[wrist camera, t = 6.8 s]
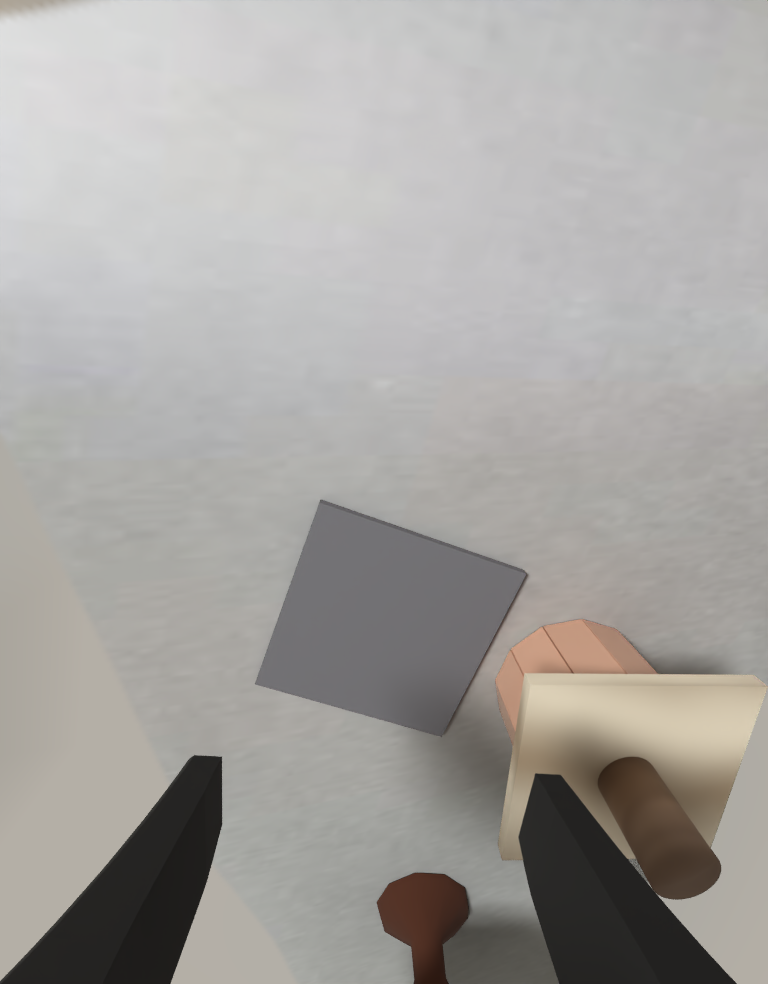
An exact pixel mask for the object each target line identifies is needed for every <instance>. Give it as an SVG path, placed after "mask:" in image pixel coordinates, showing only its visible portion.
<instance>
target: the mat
mask: <svg viewBox="0 0 768 984" xmlns="http://www.w3.org/2000/svg"><path fill="white" fill-rule="evenodd" d="M525 576H526V573H525V571H524V570H522V569H519V568H517V567H514V566H511V565H508V564H505V563H502V562H499V561H496V560H493V559H491V558H488V557H485V556H482V555H479V554H476V553H473V552H470V551H468V550H465V549H462V548H459V547H456V546H453V545H450V544H447V543H444V542H442V541H439V540H436V539H433V538H430V537H427V536H424V535H421V534H418V533H416V532H413V531H410V530H407V529H404V528H401V527H398V526H395V525H393V524H390V523H387V522H384V521H381V520H378V519H375V518H372V517H369V516H367V515H364V514H361V513H358V512H355V511H352V510H349V509H346V508H344V507H341V506H338V505H335V504H332V503H329V502H326V501H323V500H320V503H319V506H318V508H317V511H316V514H315V517H314V520H313V522H312V525H311V528H310V531H309V534H308V536H307V539H306V542H305V545H304V548H303V551H302V553H301V556H300V559H299V562H298V565H297V567H296V570H295V573H294V576H293V579H292V581H291V584H290V587H289V590H288V593H287V595H286V598H285V601H284V604H283V607H282V609H281V612H280V615H279V618H278V621H277V624H276V626H275V629H274V632H273V635H272V638H271V640H270V643H269V646H268V649H267V652H266V654H265V657H264V660H263V663H262V666H261V668H260V671H259V674H258V677H257V680H256V682H255V684H256V685H260V686H263V687H267V688H270V689H274V690H278V691H281V692H285V693H288V694H292V695H295V696H299V697H302V698H306V699H310V700H313V701H317V702H320V703H324V704H327V705H331V706H334V707H338V708H341V709H345V710H349V711H352V712H356V713H359V714H363V715H366V716H370V717H373V718H377V719H381V720H384V721H388V722H391V723H395V724H398V725H402V726H405V727H409V728H413V729H416V730H420V731H423V732H427V733H430V734H434V735H437V736H441V737H442V735H443V733H444V731H445V729H446V727H447V725H448V723H449V721H450V720H451V718H452V716H453V714H454V712H455V710H456V708H457V706H458V704H459V702H460V700H461V699H462V697H463V695H464V693H465V691H466V689H467V687H468V685H469V683H470V681H471V679H472V677H473V676H474V674H475V672H476V670H477V668H478V666H479V664H480V662H481V660H482V658H483V656H484V654H485V653H486V651H487V649H488V647H489V645H490V643H491V641H492V639H493V637H494V635H495V633H496V631H497V630H498V628H499V626H500V624H501V622H502V620H503V618H504V616H505V614H506V612H507V610H508V609H509V607H510V605H511V603H512V601H513V599H514V597H515V595H516V593H517V591H518V589H519V587H520V586H521V584H522V582H523V580H524V578H525Z"/></svg>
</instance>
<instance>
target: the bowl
mask: <svg viewBox="0 0 768 984" xmlns="http://www.w3.org/2000/svg"><path fill="white" fill-rule="evenodd" d="M511 649H512V650H510V651H509V653H508V655H507V657H506V659H505V661H504V663H503V665H502V667H501V669H500V671H499V673H498V675H497V677H496V679H495V680H496V681H495V683H496V689H497V696H498V703H499V710H500V713H501V715H502V718H503V721H504V723H505V726H506V729H507V731H508V734H509V737H510V739H511V742H512V745H513V744H514V738H515V731H516V725H517V718H518V712H519V705H520V699H521V693H522V686H523V680H524V673H566V674H658V673H657V672H656V671H655V670H654V669H653V668H652V667H651V666H650V665H649V664H648V663H647V661H646V660H645V659H644V658H643V657H642V656H641V655H640V654H639V653H638V652H637V651H636V650H635V649H634V647H633V646H632V645H631V644H630V643H629V642H628V641H627V640H626V639H625V638H624V637H623V636H622V634H621V633H620V632H619V631H618V630H616V629H614V628H611V627H607V626H604V625H600V624H597V623H594V622H590V621H587V620H584V619H582V620H581V619H579V620H573V621H568V622H563V623H557V624H552V625H547V626H543V628H542V627H541V628H539V629H538V630H537V631H535V632H534V633H532V634H531V635H530V636H528V637H527V638H525V639H524V640H523V641H521V642H520V643H518V644H517V645H516V646H514V647H513V648H511Z"/></svg>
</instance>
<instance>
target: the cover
mask: <svg viewBox="0 0 768 984" xmlns="http://www.w3.org/2000/svg"><path fill="white" fill-rule="evenodd" d="M767 688H768V686H766V685H765V684H764V683H763V682H762V681H760V680H759V679H758V678H757V677H755V676H754V675H694V674H566V673H524V680H523V686H522V693H521V699H520V705H519V712H518V718H517V725H516V731H515V738H514V744H513V750H512V757H511V763H510V770H509V776H508V783H507V789H506V795H505V802H504V808H503V815H502V821H501V828H500V834H499V840H498V847H499V850H500V854H501V858H502V860H523V857H522V853H521V848H520V843H519V838H518V836H519V832H520V829H521V825H522V821H523V817H524V814H525V810H526V806H527V802H528V799H529V795H530V791H531V787H532V784H533V780H534V776H535V773H538V774H557V775H561V776H562V777H563V778H564V780H565V781H566V782H567V783H568V785H569V786H570V787H571V788H572V790H573V791H574V792H575V793H576V795H577V796H578V797H579V799H580V800H581V801H582V802H583V804H584V805H585V806H586V808H587V809H588V810H589V811H590V813H591V814H592V815H593V816H594V818H595V819H596V820H597V822H598V823H599V824H600V825H601V827H602V828H603V829H604V830H605V832H606V833H607V834H608V835H609V837H610V838H611V839H612V841H613V842H614V843H615V844H616V846H617V847H618V848H619V849H620V850H621V852H622V853H623V854H624V855H625V857H626V858H627V859H637V861H638V863H639V865H640V867H641V869H642V870H643V872H644V874H645V876H646V878H647V880H648V882H649V883H650V885H651V887H652V889H653V890H654V891H655V893H657V894H658V895H660V896H662V897H664V898H668V899H686V898H691V897H694V896H696V895H699V894H701V893H703V892H705V891H706V890H708V889H709V888H710V887H711V886H712V885H714V884H715V882H716V881H717V879H718V878H719V876H720V873H721V864H720V861H719V860H718V858H717V857H716V855H715V854H714V852H713V851H712V850H711V846H712V843H713V840H714V837H715V834H716V831H717V829H718V826H719V823H720V820H721V818H722V814H723V812H724V809H725V806H726V803H727V801H728V798H729V795H730V792H731V789H732V787H733V784H734V781H735V778H736V775H737V772H738V770H739V767H740V764H741V761H742V758H743V756H744V753H745V750H746V747H747V744H748V742H749V739H750V736H751V733H752V730H753V727H754V724H755V722H756V719H757V716H758V713H759V711H760V708H761V705H762V702H763V699H764V697H765V694H766V691H767Z"/></svg>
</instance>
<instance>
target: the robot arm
mask: <svg viewBox="0 0 768 984" xmlns="http://www.w3.org/2000/svg"><path fill="white" fill-rule="evenodd" d="M221 827H222V757H216V756H197V755H194V756H193V757H191V758H190V759H189V760H188V761H187V763H186V764H185V765H184V767H183V768H182V770H181V771H180V772H179V774H178V775H177V777H176V778H175V779H174V781H173V782H172V783H171V785H170V786H169V787H168V789H167V790H166V791H165V793H164V794H163V795H162V797H161V798H160V799H159V801H158V802H157V803H156V804H155V806H154V807H153V808H152V810H151V811H150V812H149V813H148V815H147V816H146V817H145V819H144V820H143V821H142V822H141V824H140V825H139V826H138V827H137V829H136V830H135V831H134V832H133V833H132V835H131V836H130V837H129V838H128V839H127V841H126V842H125V843H124V844H123V846H122V847H121V848H120V849H119V850H118V852H117V853H116V854H115V855H114V857H113V858H112V859H111V860H110V861H109V863H108V864H107V865H106V866H105V867H104V869H103V870H102V871H101V872H100V873H99V874H98V875H97V877H96V878H95V879H94V880H93V881H92V882H91V883H90V884H89V886H88V887H87V888H86V889H85V890H84V891H83V893H82V894H81V895H80V896H79V897H78V898H77V899H76V900H75V902H74V903H73V904H72V905H71V906H70V907H69V908H68V909H67V911H66V912H65V913H64V914H63V915H62V916H61V917H60V918H59V920H58V921H57V922H56V923H55V924H54V925H53V926H52V927H51V928H50V929H49V931H48V932H47V933H46V934H45V935H44V936H43V937H42V938H41V939H40V940H39V941H38V942H37V943H36V945H35V946H34V947H33V948H32V949H31V950H30V951H29V952H28V953H27V954H26V955H25V956H24V957H23V958H22V959H21V961H19V962H18V963H17V965H16V966H15V967H14V968H13V969H12V970H11V971H10V972H9V973H8V974H7V975H6V976H5V977H4V978H3V979H2V980H1V981H0V984H170V983H171V980H172V978H173V974H174V972H175V969H176V967H177V964H178V961H179V958H180V955H181V953H182V950H183V947H184V944H185V941H186V939H187V936H188V933H189V930H190V928H191V925H192V922H193V919H194V916H195V914H196V910H197V908H198V905H199V902H200V899H201V897H202V894H203V891H204V888H205V885H206V882H207V879H208V875H209V872H210V868H211V864H212V861H213V857H214V853H215V849H216V846H217V842H218V838H219V834H220V830H221ZM518 838H519V843H520V848H521V853H522V857H523V862H524V867H525V871H526V875H527V880H528V884H529V888H530V892H531V896H532V899H533V903H534V906H535V909H536V912H537V915H538V919H539V922H540V925H541V928H542V931H543V934H544V937H545V941H546V944H547V947H548V950H549V953H550V956H551V959H552V962H553V965H554V968H555V972H556V975H557V978H558V981H559V984H736V982H735V981H734V980H733V979H732V978H731V977H730V976H729V975H728V974H727V973H726V972H725V971H724V970H723V969H722V968H721V967H720V965H719V964H718V963H717V962H716V961H715V960H714V959H713V958H712V957H711V956H710V955H709V954H708V952H707V951H706V950H705V949H704V948H703V947H702V946H701V945H700V944H699V943H698V941H697V940H696V939H695V938H694V937H693V936H692V934H691V933H690V932H689V931H688V930H687V929H686V928H685V927H684V925H682V923H681V922H680V921H679V920H678V919H677V918H676V916H675V915H674V914H673V913H672V912H671V911H670V909H668V907H667V906H666V905H665V904H664V902H663V901H662V900H661V899H660V898H659V897H658V895H657V894H656V893H655V892H654V891H653V889H652V888H651V887H650V886H649V885H648V883H647V882H646V881H645V880H644V879H643V877H642V876H641V875H640V874H639V872H638V871H637V870H636V869H635V868H634V866H633V865H632V864H631V863H630V862H629V860H628V859H627V858H626V857H625V855H624V854H623V853H622V852H621V850H620V849H619V848H618V847H617V846H616V844H615V843H614V842H613V841H612V839H611V838H610V837H609V835H608V834H607V833H606V832H605V830H604V829H603V828H602V827H601V825H600V824H599V823H598V822H597V820H596V819H595V818H594V816H593V815H592V814H591V813H590V811H589V810H588V809H587V808H586V806H585V805H584V804H583V802H582V801H581V800H580V799H579V797H578V796H577V795H576V793H575V792H574V791H573V790H572V788H571V787H570V786H569V785H568V783H567V782H566V781H565V780H564V778H563V777H562V776H561V775H557V774H538V773H535V776H534V780H533V784H532V787H531V791H530V795H529V799H528V802H527V806H526V810H525V814H524V817H523V821H522V825H521V829H520V832H519V836H518Z"/></svg>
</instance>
